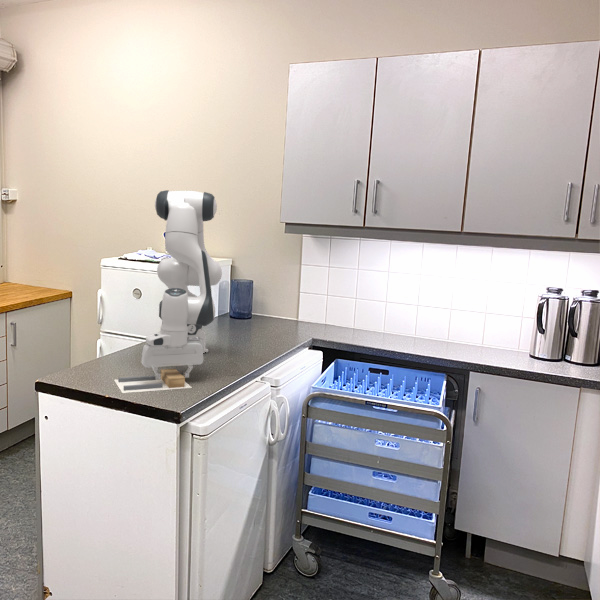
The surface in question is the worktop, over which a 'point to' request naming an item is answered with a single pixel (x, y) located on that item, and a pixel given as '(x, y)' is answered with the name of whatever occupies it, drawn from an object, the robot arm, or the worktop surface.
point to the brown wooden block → (172, 378)
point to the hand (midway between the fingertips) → (172, 378)
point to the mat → (143, 384)
